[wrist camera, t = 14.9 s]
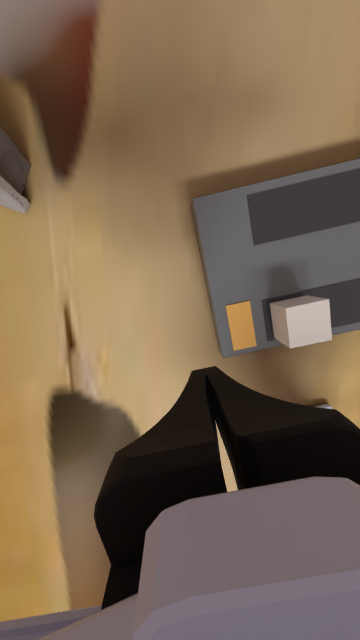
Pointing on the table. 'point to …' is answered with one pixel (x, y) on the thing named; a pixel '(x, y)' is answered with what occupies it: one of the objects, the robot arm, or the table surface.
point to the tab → (301, 321)
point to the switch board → (280, 252)
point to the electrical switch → (12, 175)
